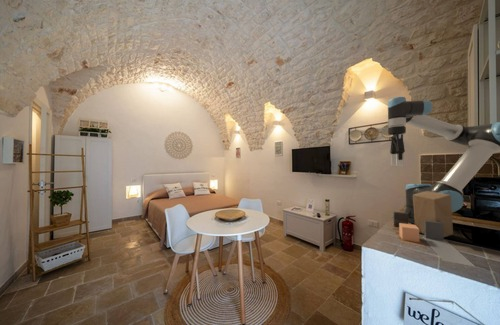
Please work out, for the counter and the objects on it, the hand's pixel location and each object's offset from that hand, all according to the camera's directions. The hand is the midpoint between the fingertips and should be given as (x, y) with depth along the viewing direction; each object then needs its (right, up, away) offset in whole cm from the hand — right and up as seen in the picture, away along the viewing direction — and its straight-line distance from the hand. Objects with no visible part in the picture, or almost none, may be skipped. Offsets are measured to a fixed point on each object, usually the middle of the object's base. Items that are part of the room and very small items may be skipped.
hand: (396, 165), depth 100 cm
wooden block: (+13, -34, -8) cm, 37 cm away
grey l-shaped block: (+1, -35, -24) cm, 42 cm away
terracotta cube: (-5, -34, -13) cm, 37 cm away
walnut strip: (-3, -35, -9) cm, 36 cm away
